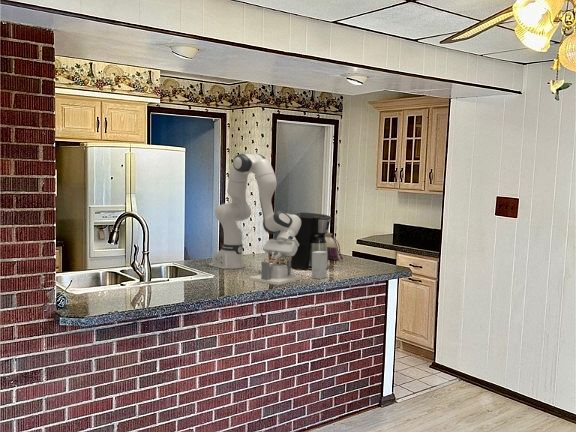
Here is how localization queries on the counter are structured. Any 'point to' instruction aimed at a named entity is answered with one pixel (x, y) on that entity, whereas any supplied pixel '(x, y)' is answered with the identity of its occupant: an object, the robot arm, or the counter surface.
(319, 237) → the coffee maker
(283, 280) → the socket board
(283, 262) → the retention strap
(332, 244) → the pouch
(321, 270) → the skincare box
